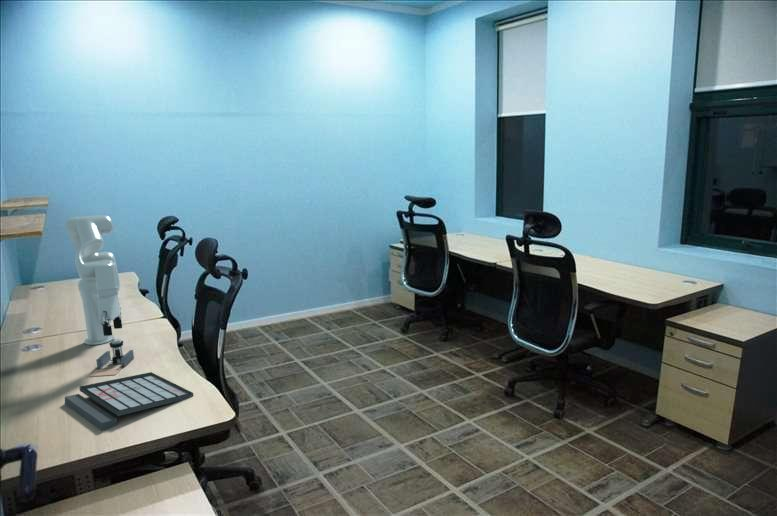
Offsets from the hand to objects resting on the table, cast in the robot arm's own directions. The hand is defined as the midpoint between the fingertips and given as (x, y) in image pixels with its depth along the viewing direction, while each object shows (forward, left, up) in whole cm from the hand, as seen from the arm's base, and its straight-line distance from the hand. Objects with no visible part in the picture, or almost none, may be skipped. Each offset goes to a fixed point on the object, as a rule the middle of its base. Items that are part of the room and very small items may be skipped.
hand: (113, 331), depth 225 cm
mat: (+10, 0, -14) cm, 17 cm away
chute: (+1, 0, -14) cm, 14 cm away
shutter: (+37, +20, -15) cm, 45 cm away
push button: (0, 0, -14) cm, 14 cm away
